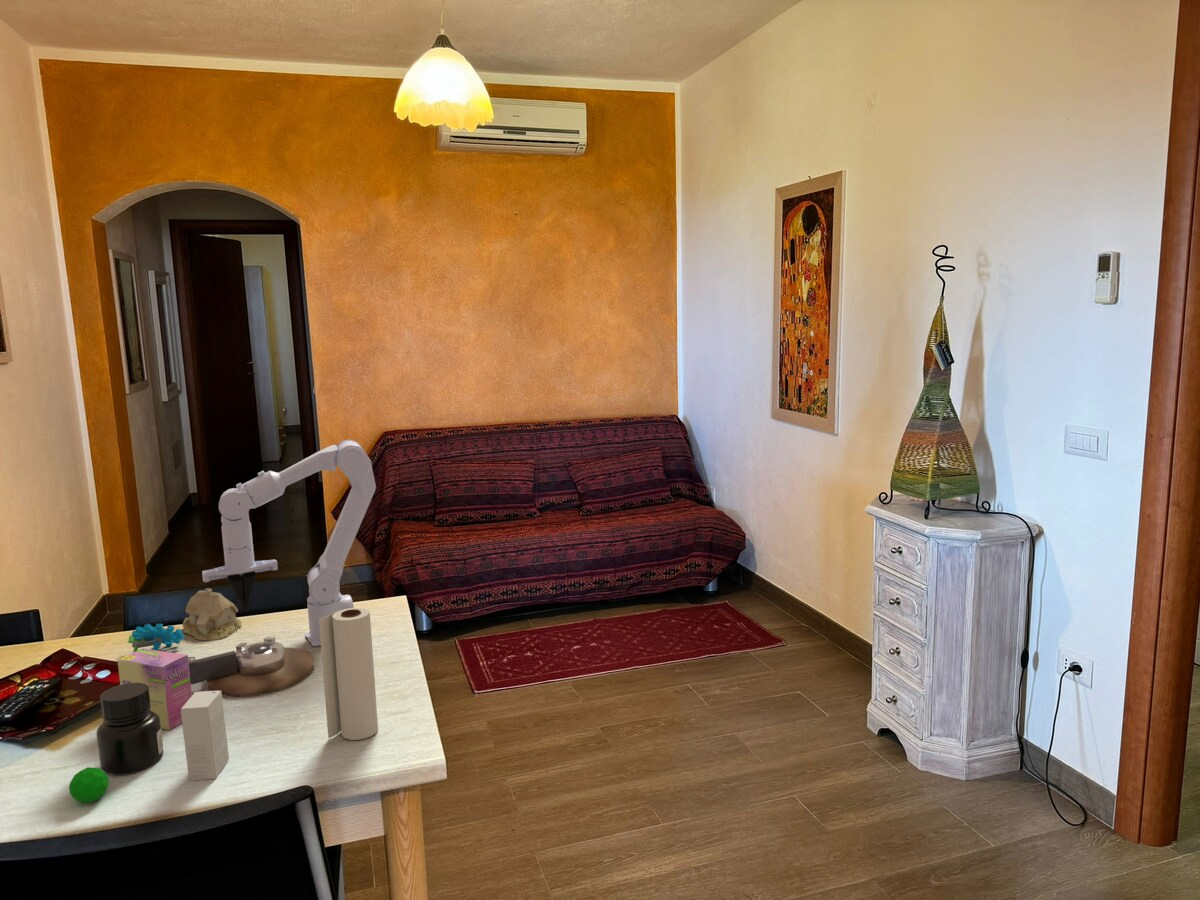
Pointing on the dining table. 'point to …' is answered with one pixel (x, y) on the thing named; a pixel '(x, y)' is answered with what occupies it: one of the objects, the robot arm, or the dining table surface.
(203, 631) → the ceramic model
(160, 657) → the box
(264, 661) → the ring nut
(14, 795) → the dining table surface
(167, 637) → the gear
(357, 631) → the paper towel roll
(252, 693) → the nut base plate
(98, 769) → the polyhedron
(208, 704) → the skincare box
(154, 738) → the ink bottle
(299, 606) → the dining table surface
